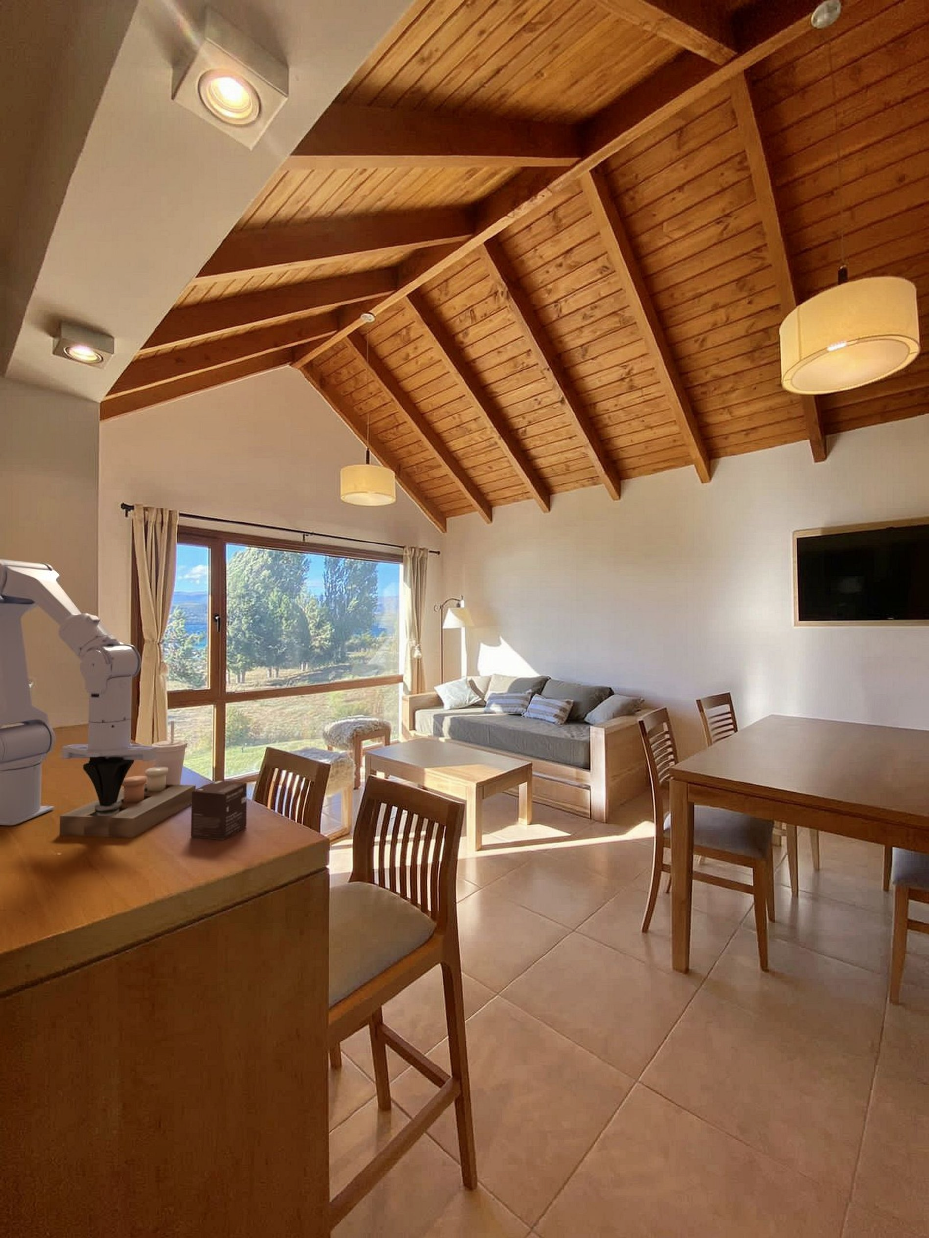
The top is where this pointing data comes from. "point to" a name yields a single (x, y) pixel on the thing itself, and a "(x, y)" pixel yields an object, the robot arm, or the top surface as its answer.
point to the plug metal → (108, 809)
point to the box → (218, 809)
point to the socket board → (127, 814)
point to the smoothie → (171, 757)
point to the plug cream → (156, 779)
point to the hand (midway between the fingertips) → (108, 803)
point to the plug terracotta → (134, 789)
